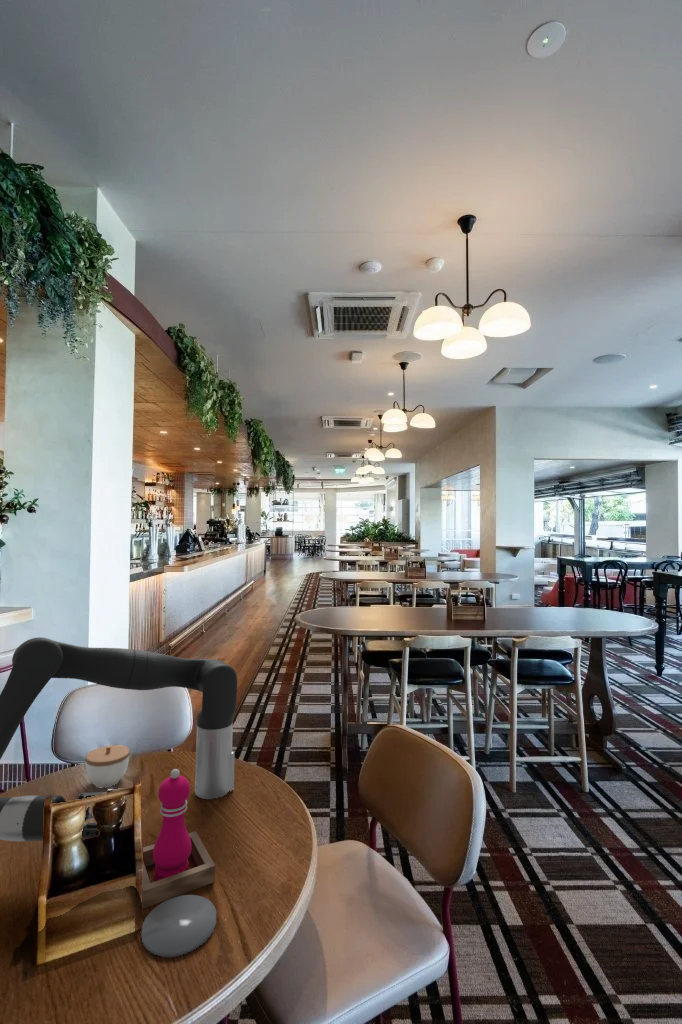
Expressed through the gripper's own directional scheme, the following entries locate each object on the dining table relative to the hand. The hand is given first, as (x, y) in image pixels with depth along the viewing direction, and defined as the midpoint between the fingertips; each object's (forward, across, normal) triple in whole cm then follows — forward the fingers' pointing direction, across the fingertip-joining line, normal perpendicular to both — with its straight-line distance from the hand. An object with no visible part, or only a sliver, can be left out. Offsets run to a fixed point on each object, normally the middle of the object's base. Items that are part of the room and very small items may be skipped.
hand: (116, 816), depth 94 cm
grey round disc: (+16, -13, +11) cm, 24 cm away
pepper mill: (+11, 0, +11) cm, 16 cm away
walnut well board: (+11, 0, +11) cm, 16 cm away
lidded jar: (-17, +37, +11) cm, 42 cm away
